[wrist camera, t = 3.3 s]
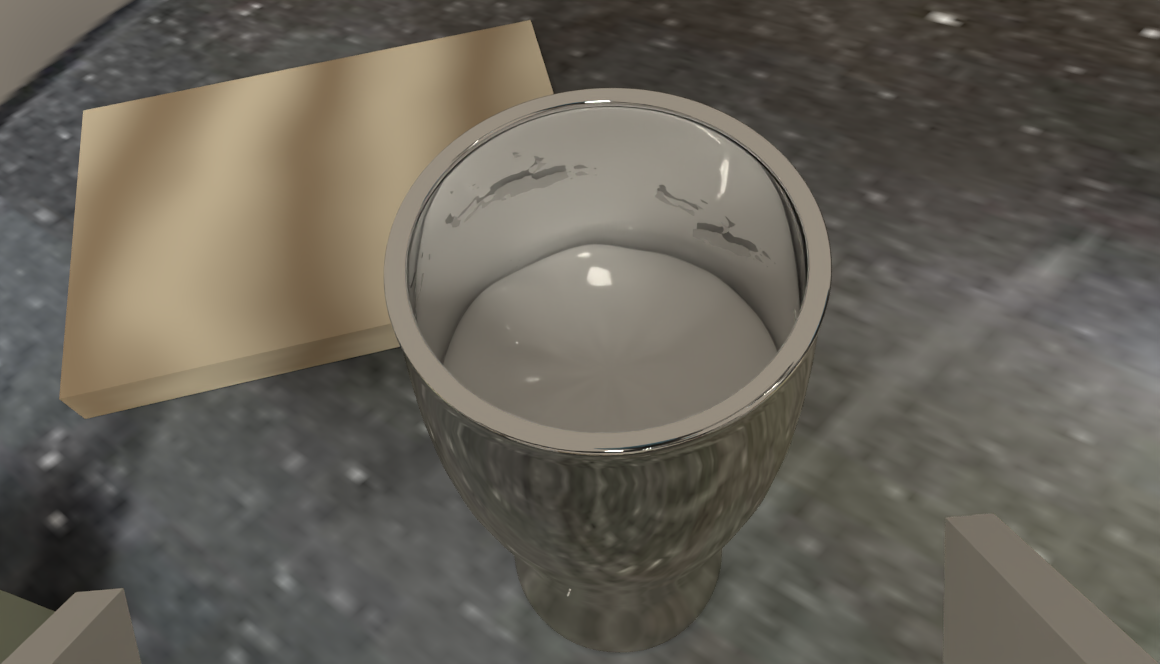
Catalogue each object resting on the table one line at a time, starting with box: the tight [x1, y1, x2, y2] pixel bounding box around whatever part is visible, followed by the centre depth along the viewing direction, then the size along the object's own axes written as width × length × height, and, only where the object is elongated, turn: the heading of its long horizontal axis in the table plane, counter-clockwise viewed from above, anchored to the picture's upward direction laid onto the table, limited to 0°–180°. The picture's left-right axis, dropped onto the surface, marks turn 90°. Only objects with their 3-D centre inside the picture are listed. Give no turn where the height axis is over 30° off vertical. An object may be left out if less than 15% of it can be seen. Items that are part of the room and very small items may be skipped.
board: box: [59, 20, 554, 419], centre depth 32 cm, size 18×13×2 cm
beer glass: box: [384, 88, 832, 653], centre depth 19 cm, size 7×7×15 cm
